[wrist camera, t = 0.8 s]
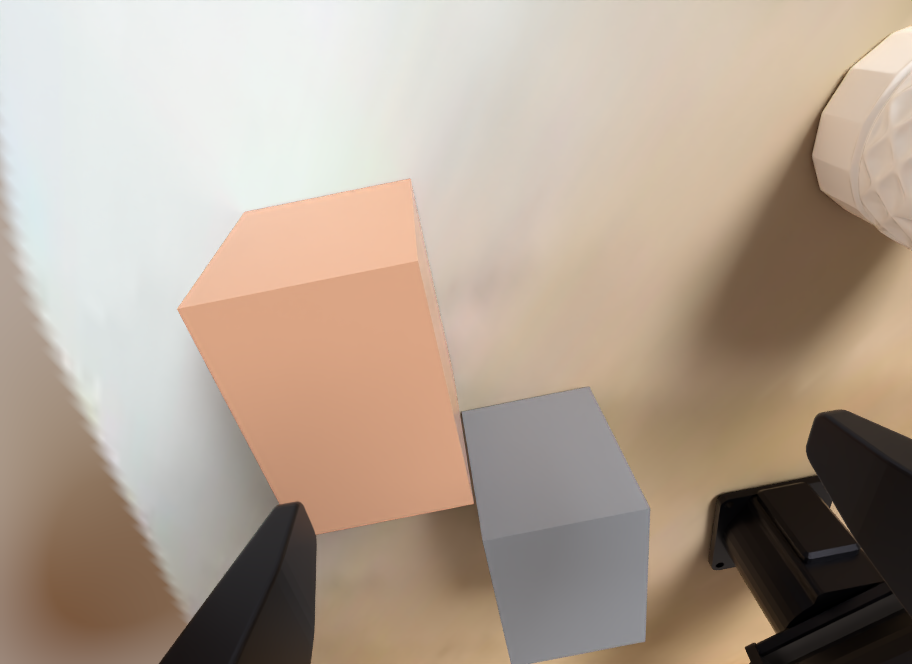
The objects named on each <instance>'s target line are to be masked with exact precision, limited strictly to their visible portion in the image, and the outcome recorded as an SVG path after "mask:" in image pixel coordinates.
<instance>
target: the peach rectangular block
mask: <svg viewBox="0 0 912 664" xmlns="http://www.w3.org/2000/svg"><path fill="white" fill-rule="evenodd" d="M177 310H178V312H179V314H180V316H181V317H182V319H183V321H184V323H185V325H186V327H187V329H188V331H189V333H190V335H191V336H192V338H193V340H194V342H195V344H196V346H197V348H198V350H199V352H200V354H201V356H202V357H203V359H204V361H205V363H206V365H207V367H208V369H209V371H210V373H211V375H212V376H213V378H214V380H215V382H216V384H217V386H218V388H219V390H220V392H221V394H222V395H223V397H224V399H225V401H226V403H227V405H228V407H229V409H230V411H231V413H232V415H233V416H234V418H235V420H236V422H237V424H238V426H239V428H240V430H241V432H242V434H243V435H244V437H245V439H246V441H247V443H248V445H249V447H250V449H251V451H252V453H253V454H254V456H255V458H256V460H257V462H258V464H259V466H260V468H261V470H262V472H263V474H264V475H265V477H266V479H267V481H268V483H269V485H270V487H271V489H272V491H273V493H274V494H275V496H276V498H277V500H278V502H279V504H284V503H290V502H295V501H299V502H301V503H302V504H303V505H304V507H305V510H306V512H307V514H308V517H309V519H310V521H311V524H312V526H313V528H314V531H315V534H316V535H318V534H323V533H328V532H333V531H338V530H343V529H348V528H353V527H358V526H364V525H369V524H374V523H379V522H384V521H389V520H394V519H399V518H404V517H409V516H415V515H420V514H425V513H430V512H435V511H440V510H445V509H450V508H455V507H460V506H466V505H471V504H474V500H473V494H472V488H471V481H470V475H469V469H468V462H467V456H466V450H465V443H464V437H463V431H462V424H461V418H460V411H459V405H458V399H457V392H456V386H455V380H454V375H453V370H452V366H451V361H450V356H449V352H448V347H447V343H446V338H445V334H444V329H443V324H442V320H441V315H440V311H439V306H438V302H437V297H436V293H435V288H434V283H433V279H432V274H431V270H430V265H429V261H428V256H427V251H426V247H425V242H424V238H423V233H422V229H421V224H420V219H419V215H418V210H417V206H416V201H415V197H414V192H413V188H412V183H411V179H406V180H401V181H396V182H391V183H386V184H381V185H376V186H371V187H366V188H361V189H356V190H351V191H346V192H341V193H336V194H331V195H327V196H322V197H317V198H312V199H307V200H302V201H297V202H292V203H287V204H282V205H277V206H272V207H267V208H262V209H257V210H252V211H247V212H244V213H243V215H242V216H241V218H240V219H239V221H238V222H237V223H236V225H235V226H234V228H233V229H232V231H231V232H230V234H229V235H228V236H227V238H226V239H225V241H224V242H223V244H222V245H221V246H220V248H219V249H218V251H217V252H216V254H215V255H214V257H213V258H212V259H211V261H210V262H209V264H208V265H207V267H206V268H205V270H204V271H203V272H202V274H201V275H200V277H199V278H198V280H197V281H196V282H195V284H194V285H193V287H192V288H191V290H190V291H189V293H188V294H187V295H186V297H185V298H184V300H183V301H182V303H181V304H180V305H179V307H178V308H177Z"/></svg>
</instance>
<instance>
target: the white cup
mask: <svg viewBox="0 0 912 664" xmlns="http://www.w3.org/2000/svg"><path fill="white" fill-rule="evenodd" d="M812 158H813V162H814V166H815V171H816V175H817V179H818V183H819V187H820V190H821V191H823V192H824V193H825V194H826V195H828V196H829V197H830V198H831V199H832V200H834V201H835V202H836V203H837V204H838V205H840V206H841V207H842V208H843V209H845V210H846V211H848V212H850V213H852V214H854V215H855V216H857V217H859V218H861V219H863V220H865V221H867V222H868V223H870V224H872V225H874V226H875V227H876V228H877V229H878V231H880V232H881V233H883V234H884V235H886V236H887V237H889V238H891V239H892V240H894V241H896V242H898V243H899V244H901V245H903V246H905V247H907V248H908V249H909V250H911V251H912V25H911V26H909V27H906V28H904V29H901V30H898V31H896V32H893V33H892V34H890V35H889V36H888V37H887V38H886V39H884V40H883V41H882V42H881V43H880V44H879V45H877V46H876V47H875V48H874V49H873V50H871V51H870V52H869V53H868V54H867V55H866V56H864V57H863V58H862V59H861V60H860V61H858V62H857V63H856V64H855V65H854V66H853V67H851V68H850V70H849V71H848V73H847V74H846V76H845V77H844V79H843V81H842V82H841V84H840V85H839V87H838V88H837V90H836V91H835V93H834V95H833V96H832V98H831V99H830V101H829V102H828V104H827V105H826V107H825V109H824V110H823V112H822V114H821V119H820V123H819V127H818V131H817V136H816V140H815V144H814V148H813V152H812Z"/></svg>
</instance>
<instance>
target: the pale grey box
mask: <svg viewBox="0 0 912 664" xmlns="http://www.w3.org/2000/svg"><path fill="white" fill-rule="evenodd" d="M462 417H463V423H464V429H465V436H466V442H467V448H468V454H469V460H470V466H471V472H472V479H473V485H474V491H475V497H476V503H477V509H478V516H479V522H480V528H481V534H482V540H483V545H484V549H485V553H486V558H487V562H488V566H489V571H490V575H491V579H492V584H493V588H494V592H495V597H496V601H497V605H498V610H499V614H500V618H501V623H502V627H503V631H504V636H505V640H506V644H507V649H508V653H509V657H510V662H511V664H531V663H536V662H542V661H547V660H552V659H557V658H562V657H568V656H573V655H578V654H583V653H588V652H593V651H599V650H604V649H609V648H614V647H619V646H624V645H630V644H635V643H640V642H645V637H646V609H647V581H648V554H649V526H650V507H649V505H648V503H647V501H646V499H645V497H644V495H643V493H642V491H641V489H640V487H639V485H638V483H637V481H636V479H635V477H634V475H633V473H632V471H631V469H630V467H629V465H628V463H627V461H626V459H625V457H624V455H623V453H622V451H621V449H620V447H619V445H618V443H617V441H616V439H615V437H614V435H613V433H612V431H611V429H610V427H609V425H608V423H607V421H606V419H605V417H604V415H603V413H602V411H601V409H600V407H599V405H598V403H597V401H596V399H595V397H594V395H593V393H592V391H591V389H590V387H584V388H579V389H574V390H569V391H564V392H559V393H554V394H549V395H544V396H539V397H534V398H529V399H524V400H518V401H513V402H508V403H503V404H498V405H493V406H488V407H483V408H478V409H473V410H468V411H463V412H462Z"/></svg>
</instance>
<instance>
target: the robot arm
mask: <svg viewBox="0 0 912 664" xmlns="http://www.w3.org/2000/svg"><path fill="white" fill-rule="evenodd" d="M806 453H807V457H808V459H809V462H810V463H811V465H812V467H813V469H814V470H815V472H816V474H817V475H818V476H813V477H808V478H803V479H798V480H793V481H788V482H782V483H777V484H772V485H767V486H762V487H757V488H752V489H747V490H742V491H736V492H731V493H726V494H723V495H721V496H720V497H719V498H718V499H717V502H716V509H715V517H714V524H713V531H712V539H711V546H710V553H709V564H710V566H711V567H712V569H713V570H722V569H727V568H732V567H736V568H737V569H738V571H739V573H740V574H741V576H742V578H743V579H744V581H745V583H746V584H747V586H748V588H749V589H750V591H751V593H752V594H753V596H754V598H755V599H756V601H757V603H758V604H759V606H760V608H761V609H762V611H763V613H764V614H765V616H766V618H767V619H768V621H769V623H770V624H771V626H772V628H773V629H774V631H775V633H776V634H775V635H773V636H771V637H769V638H767V639H765V640H763V641H761V642H759V643H757V644H756V643H752V644H750V645H748V646H746V647H745V650H746V652H747V654H748V657H749V659H750V661H751V662H750V663H749V664H912V439H910V438H908V437H906V436H904V435H901V434H899V433H897V432H894V431H892V430H890V429H888V428H885V427H883V426H881V425H879V424H876V423H874V422H872V421H869V420H867V419H865V418H863V417H860V416H858V415H856V414H854V413H851V412H849V411H846V410H833V411H827V412H821V413H819V414H818V415H817V416H816V417H815V418H814V421H813V425H812V428H811V431H810V435H809V438H808V441H807V445H806ZM832 501H833V503H834V505H835V506H836V508H837V510H838V512H839V513H840V515H841V517H842V518H843V520H844V522H845V524H846V525H847V527H848V529H849V530H850V532H851V533H852V534H851V533H850V532H849V530H848V529H847V528H846V527H845V526H844V524H843V523H842V522H841V521H840V520H839V519H838V517H837V516H836V515H835V514H834V513H833V512H832V510H831V509H830V506H831V503H832ZM316 547H317V543H316V534H315V531H314V528H313V526H312V524H311V521H310V519H309V517H308V514H307V512H306V510H305V507H304V505H303V504H302V503H301V502H299V501H295V502H290V503H284V504H279V505H277V506H276V507H275V508H274V509H273V510H272V511H271V513H270V514H269V515H268V517H267V518H266V520H265V521H264V522H263V524H262V525H261V526H260V528H259V529H258V530H257V532H256V533H255V534H254V536H253V537H252V538H251V540H250V541H249V543H248V544H247V545H246V547H245V548H244V549H243V551H242V552H241V553H240V555H239V556H238V557H237V559H236V560H235V561H234V563H233V564H232V565H231V567H230V568H229V570H228V571H227V572H226V574H225V575H224V576H223V578H222V579H221V580H220V582H219V583H218V584H217V586H216V587H215V588H214V590H213V591H212V593H211V594H210V595H209V597H208V598H207V599H206V601H205V602H204V603H203V605H202V606H201V607H200V609H199V610H198V611H197V613H196V614H195V615H194V617H193V618H192V620H191V621H190V622H189V624H188V625H187V626H186V628H185V629H184V630H183V632H182V633H181V634H180V636H179V637H178V638H177V640H176V641H175V643H174V644H173V645H172V647H171V648H170V649H169V651H168V652H167V653H166V655H165V656H164V657H163V659H162V660H161V662H160V663H159V664H311V657H312V649H313V640H314V626H315V590H316Z"/></svg>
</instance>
